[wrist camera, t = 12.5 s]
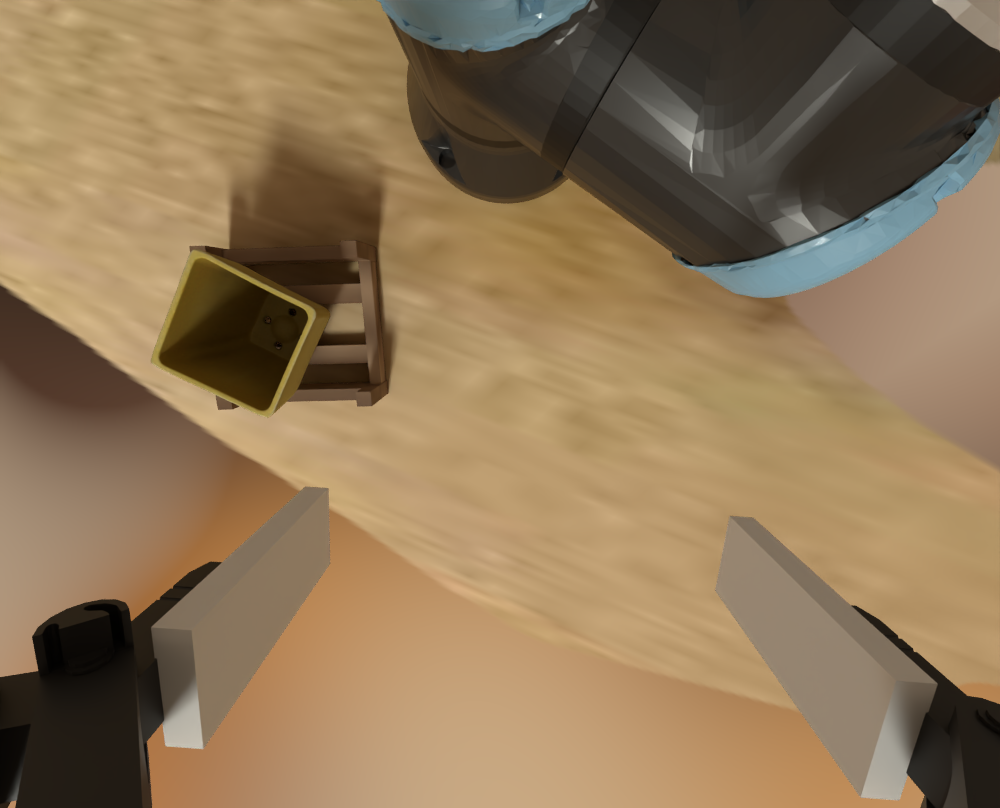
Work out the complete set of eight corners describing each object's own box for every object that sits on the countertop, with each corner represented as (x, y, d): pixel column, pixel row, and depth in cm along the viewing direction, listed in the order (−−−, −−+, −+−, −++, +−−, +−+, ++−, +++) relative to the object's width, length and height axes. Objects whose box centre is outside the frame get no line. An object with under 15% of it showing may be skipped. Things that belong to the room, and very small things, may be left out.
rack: (229, 252, 40) (189, 246, 35) (375, 247, 39) (355, 240, 35) (251, 396, 43) (218, 409, 38) (388, 393, 42) (371, 406, 37)
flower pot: (217, 349, 40) (145, 364, 31) (255, 257, 39) (191, 245, 30) (312, 394, 41) (269, 421, 33) (352, 307, 40) (318, 310, 31)
